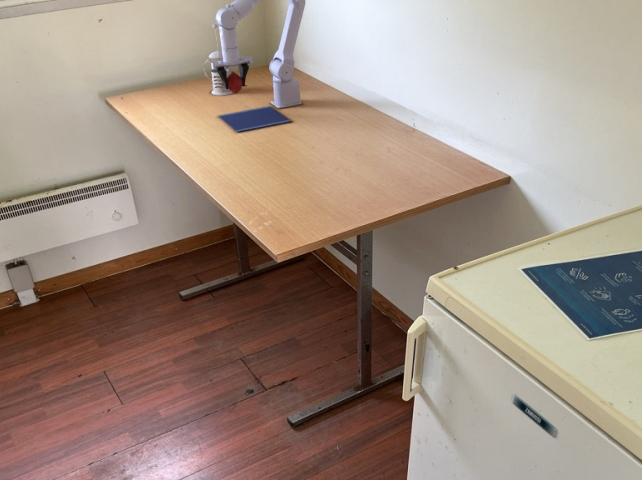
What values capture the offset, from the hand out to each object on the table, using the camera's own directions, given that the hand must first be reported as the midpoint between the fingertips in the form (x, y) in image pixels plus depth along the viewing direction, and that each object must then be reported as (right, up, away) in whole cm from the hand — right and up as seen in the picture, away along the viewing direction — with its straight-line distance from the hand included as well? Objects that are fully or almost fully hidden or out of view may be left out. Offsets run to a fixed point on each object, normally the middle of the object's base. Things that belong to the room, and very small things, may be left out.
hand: (234, 87), depth 237 cm
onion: (0, -2, +1) cm, 2 cm away
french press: (-10, +8, +28) cm, 31 cm away
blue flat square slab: (+7, -12, -1) cm, 14 cm away
